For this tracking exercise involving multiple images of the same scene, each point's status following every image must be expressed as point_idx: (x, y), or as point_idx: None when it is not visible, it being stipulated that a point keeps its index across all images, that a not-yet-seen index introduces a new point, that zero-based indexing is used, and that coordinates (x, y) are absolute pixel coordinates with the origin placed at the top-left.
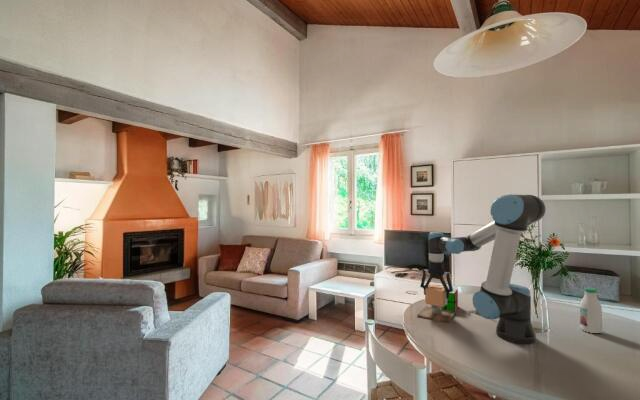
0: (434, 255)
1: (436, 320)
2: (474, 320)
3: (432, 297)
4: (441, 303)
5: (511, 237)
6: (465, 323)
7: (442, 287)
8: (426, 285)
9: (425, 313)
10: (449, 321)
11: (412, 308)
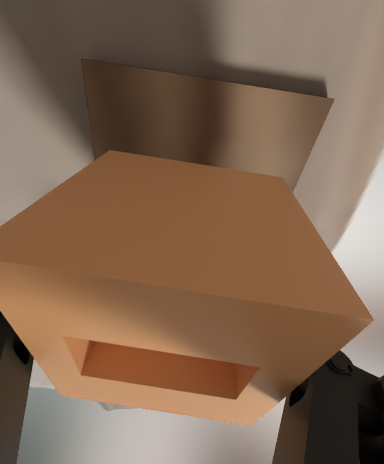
0: None
1: (181, 74)
2: (5, 187)
3: (210, 202)
4: (114, 163)
5: None
6: (11, 113)
7: (99, 392)
8: (329, 421)
9: (263, 160)
10: (83, 64)
11: (331, 242)
